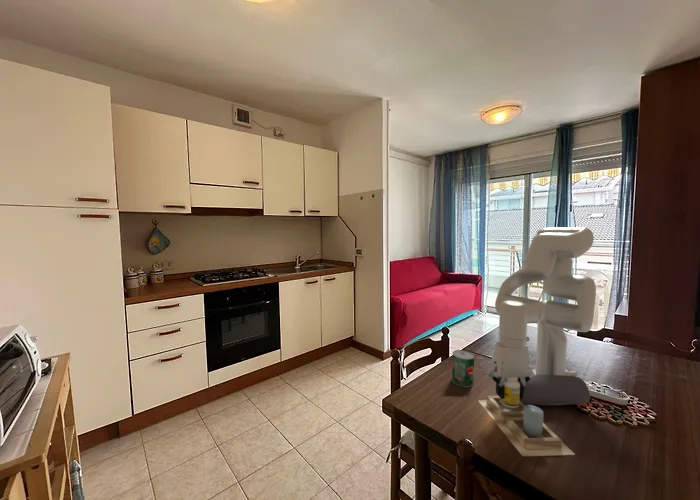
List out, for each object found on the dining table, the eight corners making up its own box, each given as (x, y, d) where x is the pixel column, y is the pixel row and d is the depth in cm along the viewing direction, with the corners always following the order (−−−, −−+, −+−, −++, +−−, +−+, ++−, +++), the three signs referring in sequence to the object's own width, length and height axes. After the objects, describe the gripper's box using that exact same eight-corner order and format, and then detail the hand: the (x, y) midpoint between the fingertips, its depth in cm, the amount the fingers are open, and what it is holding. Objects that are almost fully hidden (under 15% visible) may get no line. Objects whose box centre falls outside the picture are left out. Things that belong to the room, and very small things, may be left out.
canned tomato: (475, 388, 107) (476, 359, 106) (453, 385, 108) (454, 357, 107) (471, 377, 114) (471, 350, 114) (450, 375, 116) (451, 349, 115)
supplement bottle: (496, 398, 93) (497, 369, 92) (511, 397, 94) (513, 369, 93) (506, 409, 88) (508, 378, 87) (523, 408, 88) (524, 377, 87)
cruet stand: (477, 403, 97) (477, 393, 97) (517, 402, 98) (517, 392, 98) (522, 460, 73) (523, 447, 73) (575, 458, 74) (575, 445, 74)
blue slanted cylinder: (534, 430, 82) (535, 404, 82) (545, 442, 78) (547, 415, 77) (518, 431, 82) (520, 404, 82) (529, 443, 78) (531, 415, 77)
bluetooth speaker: (566, 397, 102) (568, 369, 101) (590, 413, 92) (592, 383, 92) (505, 397, 100) (507, 369, 100) (522, 413, 91) (524, 383, 91)
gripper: (530, 335, 93) (527, 389, 95) (479, 336, 93) (477, 390, 94) (547, 345, 86) (544, 402, 87) (491, 345, 85) (489, 403, 86)
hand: (509, 395), depth 91 cm, fingers closed on supplement bottle, 5 cm apart
